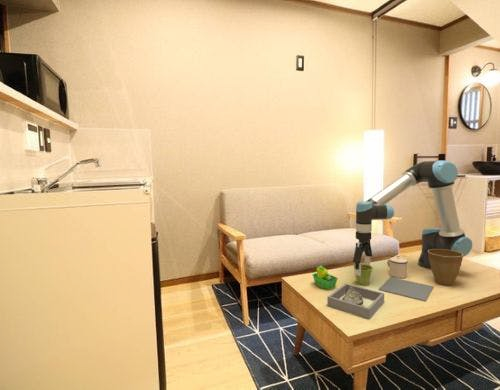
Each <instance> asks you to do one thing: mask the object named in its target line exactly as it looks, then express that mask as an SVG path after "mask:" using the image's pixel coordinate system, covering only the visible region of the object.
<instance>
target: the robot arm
mask: <svg viewBox="0 0 500 390" xmlns="http://www.w3.org/2000/svg"><path fill="white" fill-rule="evenodd" d="M458 171H459V170H458V168H457V166H456V164H454V163H453V162H452V161H449V160H444V159H443V160H442V159H441V160H439V159H438V160H425V161H421V162H418V163H417V164H414V165H412V166H411V167H409V168H408V169H406V170H404V171H403V172H402V173H401V176H400V177H398V178H397V179H395V180H393V181H392V182H391V183H390V184H387V186H385V187H384V188H383V189H382V190H380V191H378V192H377V193H376V194H374V195H373V196H371V197H370V198H368V199H367V200H366V201H357V202H356V206H355V224H354V226H355V239H356V240H358V242H355V248H354V249H355V250H354V253H353V254H354V255H353V259H352V262H353V263H354V265H355V269H354V275H355V276H356V275H358V276H361V264H362V263H361V261H362V256H363V254H364V264H366V265H370V266H371V257H373V252H372V246H371V245H372V244H371V240H372V226H373V225H372V223H373V222H372V221H375V220H379V221H380V220H390V219H392V218H393V217H394V215H395V208H394V207H393V206H392V205H391V204H388V203H389V202H390V201H392V200H393V199H395V198H396V197H398V196H399V195H400V194H402V193H403V192H404V191H406V190H407V189H408V188H409V189H410V187H414V186H416V185H418V184H420V183H427V185H428V189H431V190H432V194H433V198H434V203H435V207H436V211H437V217H438V220H439V221H438V222H439V226H440V227H426V228H423V229H422V230H421V231H422V233H421V252H420V255H419V256H418V260H417V265H419V266H420V267H422V268H426V269H430V270H432V269H431V266H430V262H429V256H428V250H430V249H446V250H453V251H457V252H460V253H462V254H463V258H464V257H466V256H468V255H469V254H470V253H471V251H472V249H473V241H472V239H471V238H469V237H467V236H466V233H465V230H463V228H461V227H460V221H459V217H458V213H457V212H458V211H457V207H456V202H455V198H454V192H453V188H452V187H454V185H455V181H456V180H457V178H458V176H459V175H458V174H459V172H458Z"/></svg>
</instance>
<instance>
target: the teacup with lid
mask: <svg viewBox="0 0 500 390" xmlns="http://www.w3.org/2000/svg"><path fill="white" fill-rule="evenodd" d="M386 264H387V266H388V268H389V275H390V277H393V278H397V279H405V278H407V276H408V260H407V259H406V258H404V257H402V256H401V255H400V254H396V255H395V256H392V257H390V258H389V259H388V260H387V262H386Z"/></svg>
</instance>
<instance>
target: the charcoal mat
mask: <svg viewBox="0 0 500 390" xmlns="http://www.w3.org/2000/svg"><path fill="white" fill-rule="evenodd" d="M434 287H435V286H433V285H429V284H425V283H419V282H415V281H412V280H411V281H410V280H406V279H403V278H396V277H392V276H390V277H389V278H388V279H386V280H385V282H384V283H383V284H382V285H381V286H380V287H378V291H380V292H385V293H389V294H393V295H397V296H401V297H405V298H409V299H414V300H417V301H421V302H427V300H428V298H429V297H430V295H431V292H432V291H433V289H434Z"/></svg>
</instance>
